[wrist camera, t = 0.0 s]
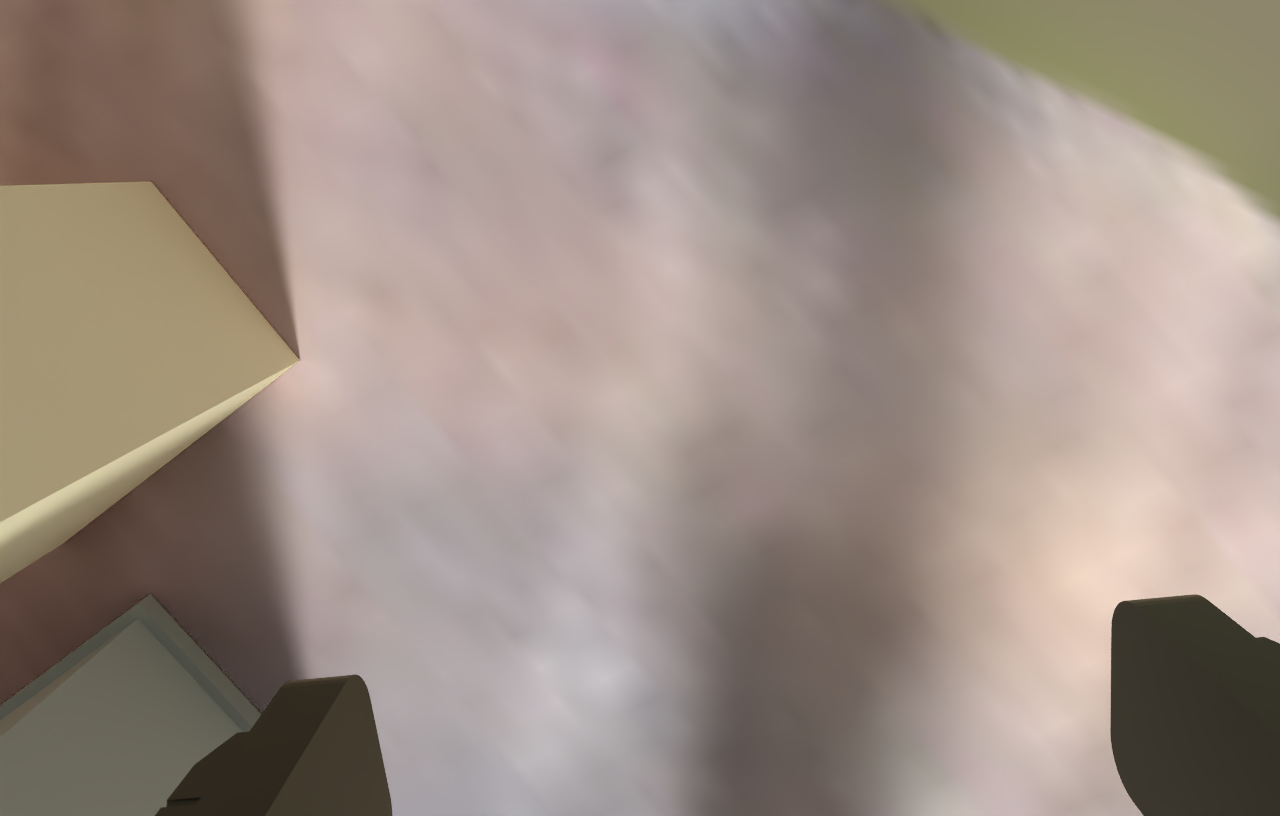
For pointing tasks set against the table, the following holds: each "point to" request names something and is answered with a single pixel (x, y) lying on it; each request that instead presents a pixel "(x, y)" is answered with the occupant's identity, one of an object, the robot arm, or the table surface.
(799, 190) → the table surface
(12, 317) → the block
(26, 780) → the tall grey pillar
